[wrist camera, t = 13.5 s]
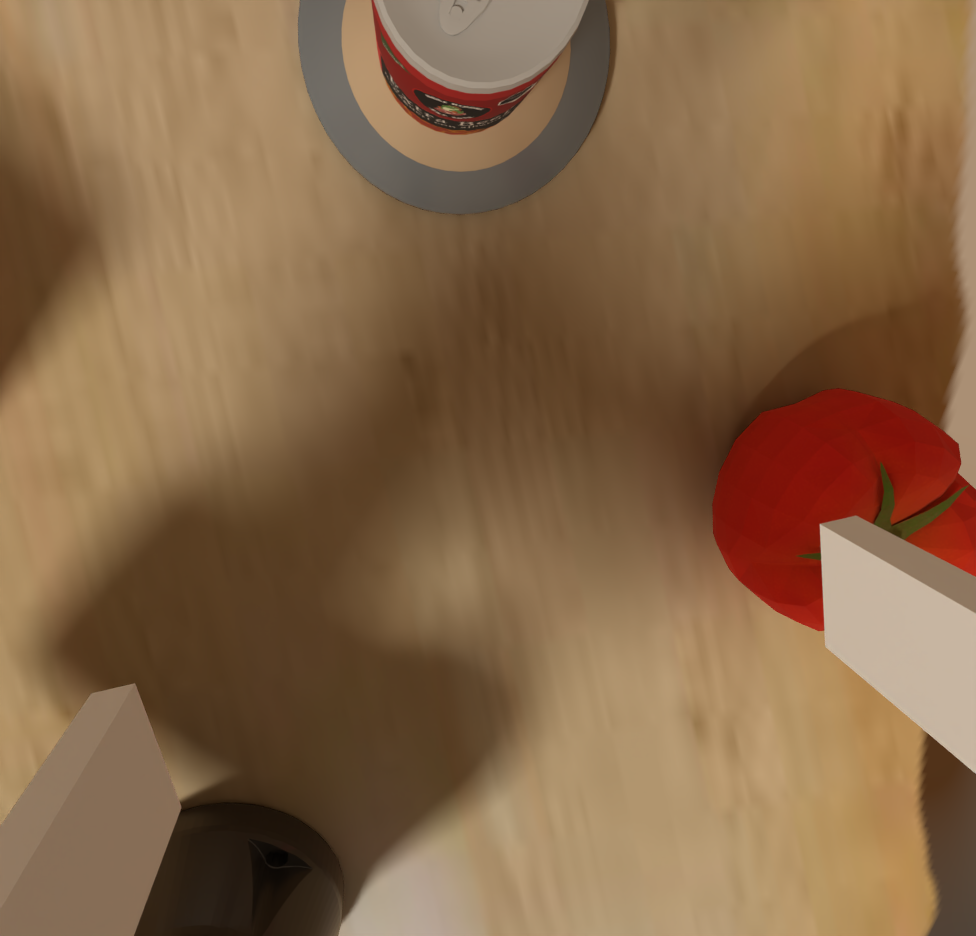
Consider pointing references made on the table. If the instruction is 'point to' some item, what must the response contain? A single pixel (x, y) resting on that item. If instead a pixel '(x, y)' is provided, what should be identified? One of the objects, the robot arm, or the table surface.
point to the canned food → (469, 55)
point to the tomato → (836, 493)
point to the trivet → (439, 156)
